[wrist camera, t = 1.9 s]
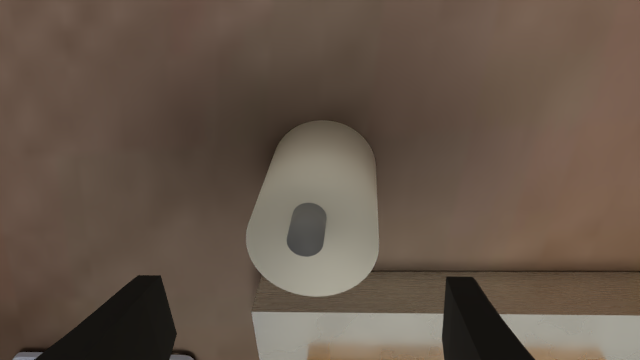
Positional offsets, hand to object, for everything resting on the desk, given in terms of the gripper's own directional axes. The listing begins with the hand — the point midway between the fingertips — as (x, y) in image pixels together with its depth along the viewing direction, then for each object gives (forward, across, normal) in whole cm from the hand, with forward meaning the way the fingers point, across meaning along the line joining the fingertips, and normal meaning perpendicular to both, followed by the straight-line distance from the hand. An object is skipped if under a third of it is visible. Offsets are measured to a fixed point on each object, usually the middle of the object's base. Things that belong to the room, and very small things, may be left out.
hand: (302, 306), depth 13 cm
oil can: (+8, 0, 0) cm, 8 cm away
